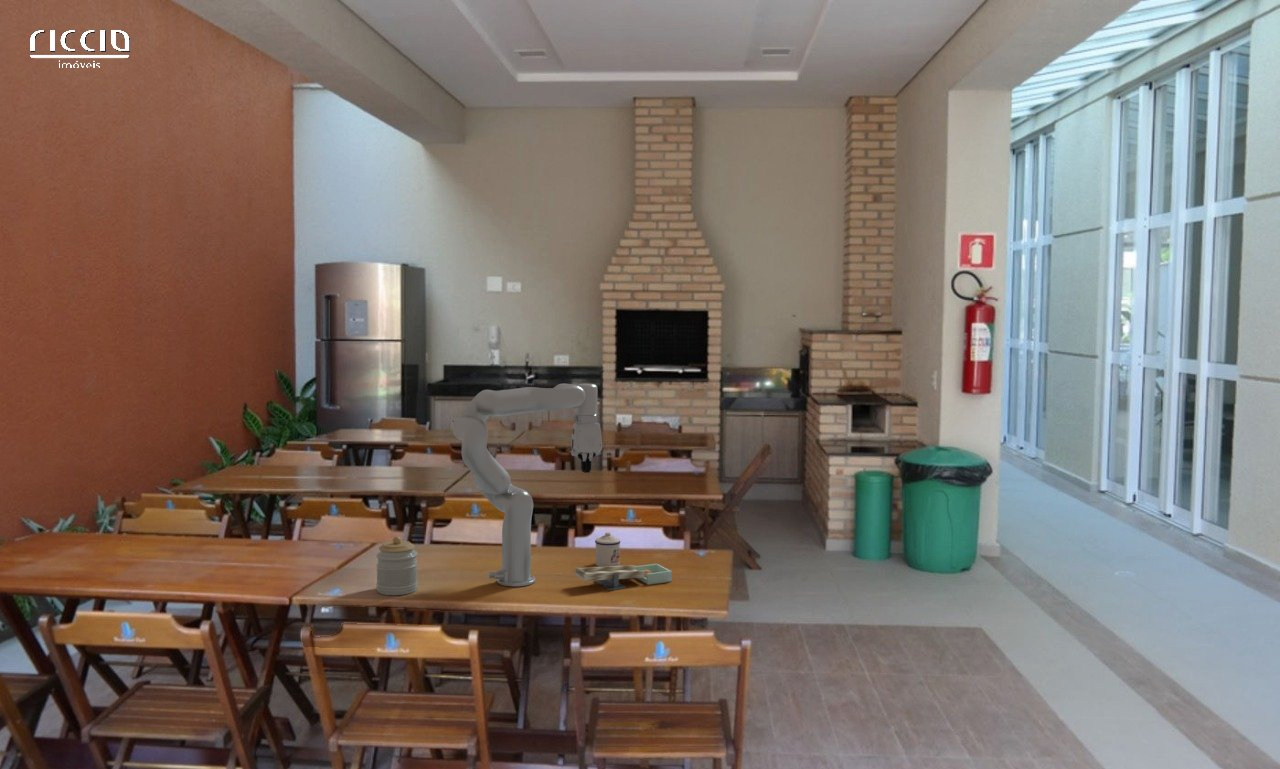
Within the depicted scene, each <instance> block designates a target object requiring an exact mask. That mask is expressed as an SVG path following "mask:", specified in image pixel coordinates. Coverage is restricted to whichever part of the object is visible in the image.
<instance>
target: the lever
mask: <svg viewBox="0 0 1280 769" xmlns="http://www.w3.org/2000/svg"><path fill="white" fill-rule="evenodd" d="M635 566H636V565H635V564H632V565H631V564H630V565H628V564H626V565H625V564H624V565H622V564H621V565H620V564H619V565H618V566H608V567H599V566H590V567H577V566H576V567H575V568H574V575H575V576H576V577H578V578H579V579H581V581H582V580H583V581H584V582H587V581H590V582H591V581H594V580H609V579H613V575H615V574H618V575H619V580H625V579H637V578H644V577H645V571H637V570H635Z"/></svg>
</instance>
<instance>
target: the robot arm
mask: <svg viewBox="0 0 1280 769" xmlns="http://www.w3.org/2000/svg"><path fill="white" fill-rule="evenodd" d="M598 392H599V391H598V385H596V384H595V383H578V384H573V383H571V384H570V383H559V384H557V385H556V386H554V387H552V388H551V387H547V388H546V387H538V386H537V387H534V386H525V387H519V388H511V389H500V390H493V389H483V390H482V391H479V393H477V394H476V395H475V396H474V397H473V399H471V401H470V402H469V403H468V404H467V405H466V406H465V408H464V409H463V410H462V411H461V412H460V413H459V415H458V416H457V417H456V419H455V420H454V421H453V424H452V429H451V430H452V434H453V435H454V437H455V438H456V439H457V440H459V441H461V457H462V458H461V459H462V461H463V463H464V465H465V466H466V467H467V469H468V470H469V472H470V473H471V474H472V481H473V484H474V486H475V487H476V489H477V490H478V491H479V492H480V493H481V495H483V496H484V497H485V498H486V499H487V500H488V502H489V503H490V504H491V505H492V506H493V507H494V508H496V509H497V510H498V511H499V512H502V513H504V517H503V520H502V526H501V537H502V538H501V564H502V565H501V567H499V568H498V569H499V570H497V571H491V572H490V571H489V572H488V573H487V579H494V580H497V584H499V585H501V586H504V587H517V588H518V587H526V586H530V585H532V584H534V583H535V582H536V576H534V575H533V574H532V573H531V568H532V566H531V565H532V564H531V563H532V562H531V561H532V559H531V555H532V554H531V553H532V552H531V551H532V548H531V547H532V545H531V541H532V536H531V535H532V533H531V532H532V531H531V530H532V517H533V510H534V500H533V498H532V495H531V494H530V493H529V492H528V491H527V490H526V489H523V488H520V487H518V486H516V485H513V484H512V481H511V476H510V474H509V473H508V471H507V470H506V469H505V468H504V467H503V466H502V465H501V464H500V463H499V462H498V461H497V460H496V459H495V458H494V457H493V455H492V454H491V452H489V450H488V447H487V446H488V444H487V443H488V437H489V428H488V425H487V423H486V422H487V420H488V419H489V418H490V417H493V418H495V417H496V418H499V417H507V416H513V415H515V416H516V415H522V414H530V413H541V412H550V411H552V412H553V411H564V410H571V409H575V414H574V416H572V417H571V421H574V422H575V423H573V426H572V431H571V441H570V447H571V448H570V449H571V456H572V457H576V458H578V459H579V460H580V467H581V468H580V469H581V472H582V473H585V474H586V473H588V474H589V473H590V472H591V470H592V461H593V459H594V458H595V457H596V456H599V455H602V452H601V451H602V450H603V439H602V438H603V436H602V429H601V423H599V422H598Z"/></svg>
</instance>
